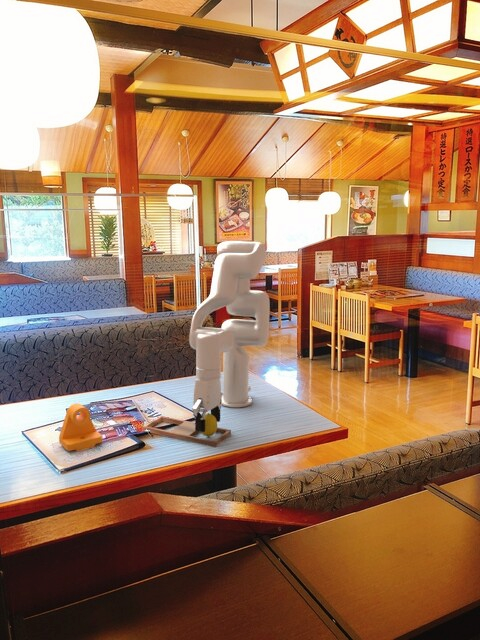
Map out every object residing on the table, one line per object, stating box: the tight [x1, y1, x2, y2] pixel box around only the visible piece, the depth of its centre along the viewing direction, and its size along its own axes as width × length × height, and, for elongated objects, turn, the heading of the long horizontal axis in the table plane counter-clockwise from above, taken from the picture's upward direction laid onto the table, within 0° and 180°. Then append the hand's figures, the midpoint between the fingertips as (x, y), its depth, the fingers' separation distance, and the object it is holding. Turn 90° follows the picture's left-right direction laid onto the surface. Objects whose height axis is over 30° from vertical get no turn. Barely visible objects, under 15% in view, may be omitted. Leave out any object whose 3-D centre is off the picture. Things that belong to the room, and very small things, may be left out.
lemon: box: [200, 412, 218, 439], centre depth 160 cm, size 6×6×8 cm
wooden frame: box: [141, 415, 232, 448], centre depth 163 cm, size 11×27×2 cm, turn 65°
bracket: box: [58, 403, 103, 452], centre depth 153 cm, size 11×7×12 cm, turn 129°
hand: (208, 425), depth 159 cm, fingers open, 9 cm apart
